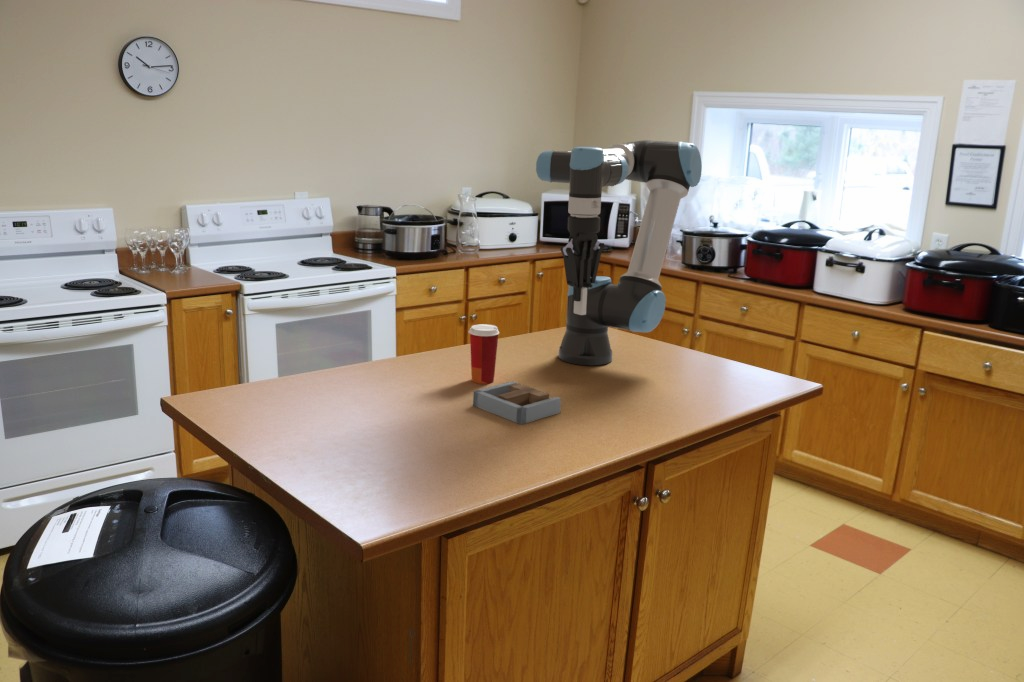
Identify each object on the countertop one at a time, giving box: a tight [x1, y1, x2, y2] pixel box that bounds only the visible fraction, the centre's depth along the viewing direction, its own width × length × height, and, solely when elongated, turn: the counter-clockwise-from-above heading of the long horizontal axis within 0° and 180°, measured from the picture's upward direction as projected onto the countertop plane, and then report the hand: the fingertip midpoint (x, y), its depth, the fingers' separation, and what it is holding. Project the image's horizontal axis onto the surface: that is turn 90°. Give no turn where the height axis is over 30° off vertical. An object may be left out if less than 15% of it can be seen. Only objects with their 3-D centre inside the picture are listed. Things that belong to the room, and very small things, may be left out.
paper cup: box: [467, 323, 500, 385], centre depth 213 cm, size 8×8×14 cm
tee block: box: [498, 382, 550, 406], centre depth 194 cm, size 10×10×4 cm
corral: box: [472, 381, 562, 425], centre depth 194 cm, size 16×12×4 cm
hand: (579, 313), depth 202 cm, fingers closed
